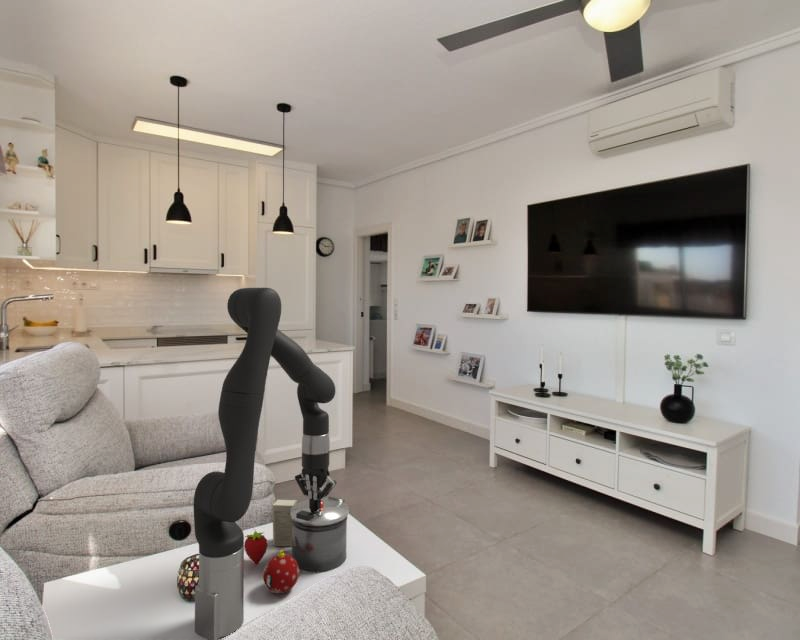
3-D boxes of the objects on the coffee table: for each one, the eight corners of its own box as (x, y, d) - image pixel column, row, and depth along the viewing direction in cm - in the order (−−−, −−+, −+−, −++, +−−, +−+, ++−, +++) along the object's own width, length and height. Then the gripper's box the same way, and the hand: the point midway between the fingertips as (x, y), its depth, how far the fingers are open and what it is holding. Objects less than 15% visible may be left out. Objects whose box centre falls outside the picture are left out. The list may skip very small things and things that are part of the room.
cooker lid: (326, 532, 123) (326, 518, 123) (278, 518, 130) (278, 506, 130) (360, 508, 138) (360, 496, 137) (315, 497, 145) (315, 486, 145)
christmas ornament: (306, 587, 119) (306, 548, 119) (280, 605, 112) (280, 563, 112) (281, 576, 124) (281, 538, 124) (255, 593, 117) (255, 553, 116)
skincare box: (297, 539, 144) (298, 499, 143) (293, 547, 139) (293, 505, 139) (277, 538, 144) (277, 498, 144) (271, 545, 140) (272, 504, 140)
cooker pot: (325, 578, 123) (326, 532, 123) (279, 563, 130) (279, 520, 130) (357, 551, 137) (357, 510, 137) (314, 539, 144) (314, 500, 144)
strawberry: (248, 574, 125) (248, 536, 125) (241, 561, 131) (241, 525, 131) (271, 567, 128) (271, 530, 128) (262, 555, 135) (262, 520, 134)
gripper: (287, 449, 131) (287, 511, 131) (327, 456, 125) (326, 522, 125) (305, 442, 137) (304, 502, 138) (343, 449, 131) (342, 511, 132)
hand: (315, 511), depth 131 cm, fingers closed
